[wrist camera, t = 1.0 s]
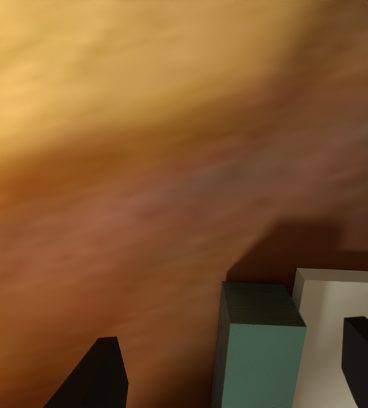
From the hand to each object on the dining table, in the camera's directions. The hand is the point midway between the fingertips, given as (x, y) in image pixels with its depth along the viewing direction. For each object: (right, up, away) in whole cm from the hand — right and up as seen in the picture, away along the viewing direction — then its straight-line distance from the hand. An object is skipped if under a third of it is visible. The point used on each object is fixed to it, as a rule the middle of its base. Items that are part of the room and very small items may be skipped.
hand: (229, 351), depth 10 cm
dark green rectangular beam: (+3, -8, +13) cm, 15 cm away
